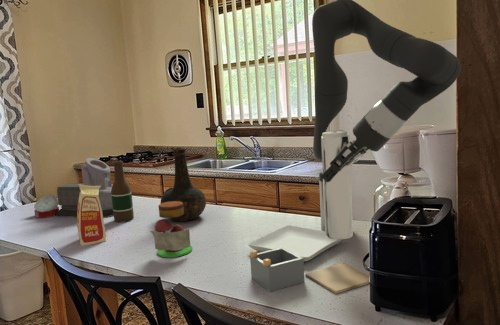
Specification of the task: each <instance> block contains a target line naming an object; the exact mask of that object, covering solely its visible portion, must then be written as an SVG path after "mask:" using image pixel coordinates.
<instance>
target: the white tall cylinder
mask: <svg viewBox="0 0 500 325" xmlns="http://www.w3.org/2000/svg"><path fill="white" fill-rule="evenodd" d="M333 131H334V132H324V133H322V137H321V145H322V160H321V163H322V164H321V165H322V170H323V174H324V172H325V171H326V170H327V169H328V168H329V167H330V166H331V165H330V162H331V161H333V160H334V158H335V157H336V156H337V155H338V154H339V153H340V152H341V151H342V149H343V148H344V147H345V146H346V145H347V144H348V143H349V142H351V139H350V134H348V132H347V131H346V130H343V131H336V130H333ZM348 162H349V161H348ZM337 164H338V165H339V166H340V165H341V162H340V161H338V162H337ZM323 191H324V214H325V235H326V237H328V238H330V239H337V240H341V239H342V240H348V239H350V238H352V237H353V236H354V227H353V224H354V223H353V222H354V221H353V201H352V200H353V198H352V196H353V195H352V167H351V164H350V165H349V166H345V167H344V168H343V169H342V170H341V171H340V172H338V173H337V174H336V175H335V176H334V177H333V178H332V179H331V180H330V181H329V182H326V181H325V180H324V179H323ZM342 240H341V241H342Z"/></svg>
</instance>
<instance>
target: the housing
mask: <svg viewBox="0 0 500 325" xmlns="http://www.w3.org/2000/svg"><path fill="white" fill-rule="evenodd" d="M249 253H250V254H249V257H250V259H249V261H250V273H251V274H250V275H251V276H250V278H251V279H252V280H254V281H255V282H256V283H258V284H259V285H260V286H262V287H263V288H264V289H265V290H267V291H268V292H270V293H271V292H274V291H277V290H281V289H285V288H288V287H293V286H294V285H298V284H299V285H300V284H302V283H304V282H305V266H304V265H305V263H304V262H305V261H304V260H303V258H302V257H300V256H298V255H296V254H295V253H293V252H291V251H289V250H287V249H285V248H283V247H282V248H278V249H273V250H269V251H265V252H258V251H257V250H254V249H253V250H250V252H249Z"/></svg>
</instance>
